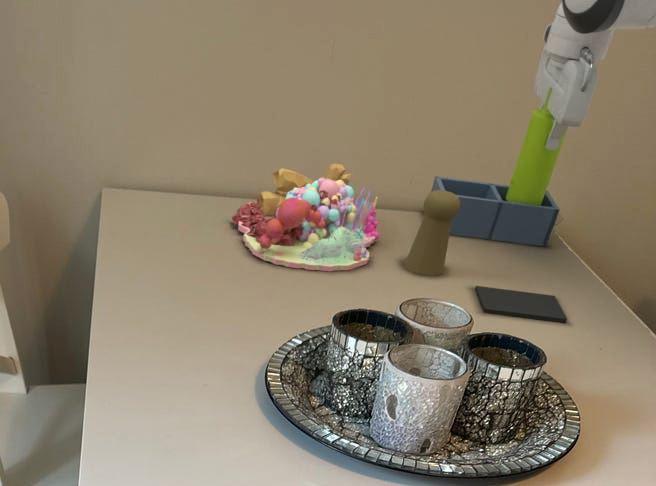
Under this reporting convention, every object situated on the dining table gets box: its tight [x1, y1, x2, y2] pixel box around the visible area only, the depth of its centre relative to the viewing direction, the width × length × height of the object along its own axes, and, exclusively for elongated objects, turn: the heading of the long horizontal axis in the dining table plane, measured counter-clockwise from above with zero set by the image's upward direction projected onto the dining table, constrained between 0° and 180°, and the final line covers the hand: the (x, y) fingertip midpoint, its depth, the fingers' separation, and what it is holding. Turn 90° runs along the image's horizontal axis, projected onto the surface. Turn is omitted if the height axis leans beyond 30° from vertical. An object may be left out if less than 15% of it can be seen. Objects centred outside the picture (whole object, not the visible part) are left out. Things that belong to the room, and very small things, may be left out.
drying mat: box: [474, 285, 568, 324], centre depth 134 cm, size 12×8×1 cm, turn 86°
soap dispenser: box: [506, 68, 568, 206], centre depth 145 cm, size 6×7×20 cm
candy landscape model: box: [231, 163, 380, 272], centre depth 142 cm, size 25×24×9 cm
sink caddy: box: [430, 175, 561, 248], centre depth 154 cm, size 19×9×6 cm, turn 86°
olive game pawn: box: [404, 190, 460, 277], centre depth 137 cm, size 6×6×11 cm
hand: (545, 142), depth 146 cm, fingers closed on soap dispenser, 6 cm apart
